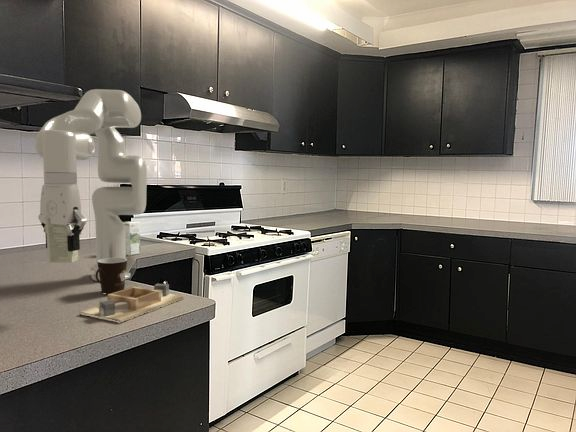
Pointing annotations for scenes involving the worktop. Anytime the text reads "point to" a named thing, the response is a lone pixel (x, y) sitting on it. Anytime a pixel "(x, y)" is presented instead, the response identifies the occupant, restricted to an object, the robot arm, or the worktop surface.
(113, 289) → the coffee mug
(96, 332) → the worktop surface
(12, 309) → the worktop surface
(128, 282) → the worktop surface
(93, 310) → the board
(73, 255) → the skincare box
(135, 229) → the syrup box
